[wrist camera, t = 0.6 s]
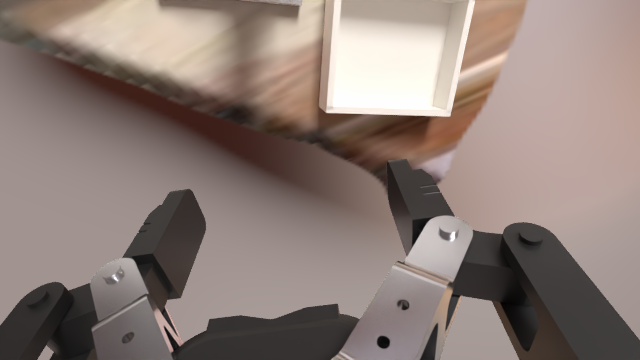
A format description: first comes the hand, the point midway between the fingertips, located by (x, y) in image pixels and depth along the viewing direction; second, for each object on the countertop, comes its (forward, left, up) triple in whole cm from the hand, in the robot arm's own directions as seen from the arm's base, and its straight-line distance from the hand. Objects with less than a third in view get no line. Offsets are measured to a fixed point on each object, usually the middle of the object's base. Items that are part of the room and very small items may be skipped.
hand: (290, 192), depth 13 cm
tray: (+12, +6, -21) cm, 25 cm away
